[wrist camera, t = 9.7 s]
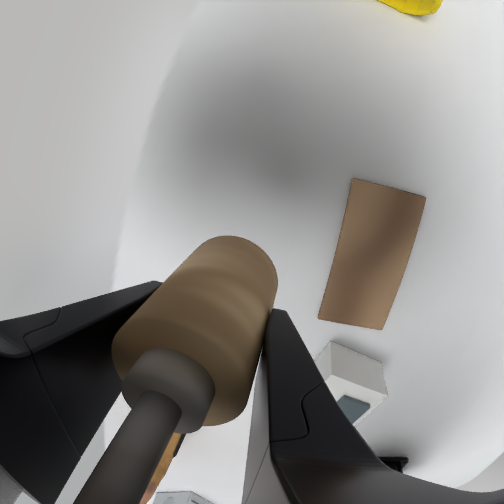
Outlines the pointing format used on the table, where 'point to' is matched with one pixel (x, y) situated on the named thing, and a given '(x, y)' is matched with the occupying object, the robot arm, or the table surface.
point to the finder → (352, 380)
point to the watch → (414, 6)
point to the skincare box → (179, 498)
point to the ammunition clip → (163, 465)
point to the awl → (185, 360)
